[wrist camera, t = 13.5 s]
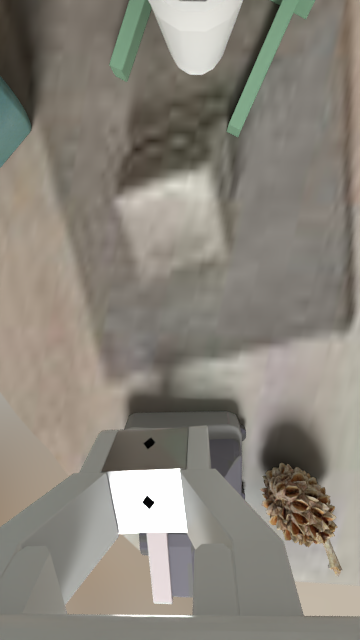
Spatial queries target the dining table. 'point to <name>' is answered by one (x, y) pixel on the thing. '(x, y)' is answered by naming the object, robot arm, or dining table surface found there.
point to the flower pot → (11, 122)
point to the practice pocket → (298, 3)
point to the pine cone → (300, 509)
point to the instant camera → (176, 548)
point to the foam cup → (196, 30)
